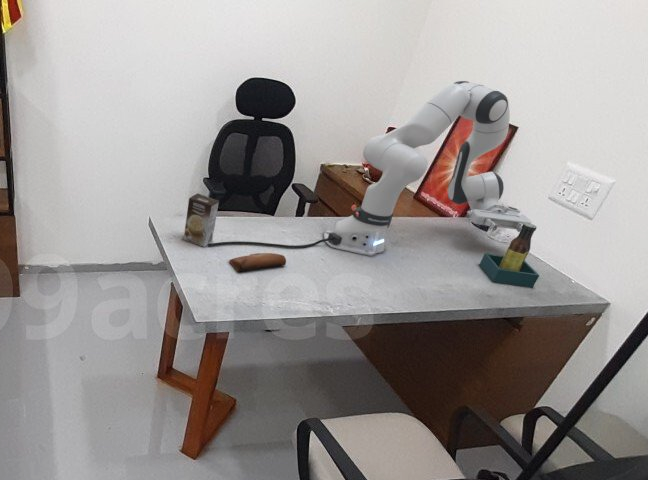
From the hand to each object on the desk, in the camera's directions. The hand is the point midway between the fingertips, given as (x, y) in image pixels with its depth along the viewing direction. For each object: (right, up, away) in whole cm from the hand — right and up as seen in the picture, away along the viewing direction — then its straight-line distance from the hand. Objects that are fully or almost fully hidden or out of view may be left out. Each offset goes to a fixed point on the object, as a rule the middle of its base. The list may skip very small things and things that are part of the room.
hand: (508, 228), depth 188 cm
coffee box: (-113, -5, -1) cm, 113 cm away
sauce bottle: (-3, -18, -2) cm, 18 cm away
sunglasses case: (-94, -14, -13) cm, 96 cm away
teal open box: (-3, -17, -2) cm, 18 cm away
